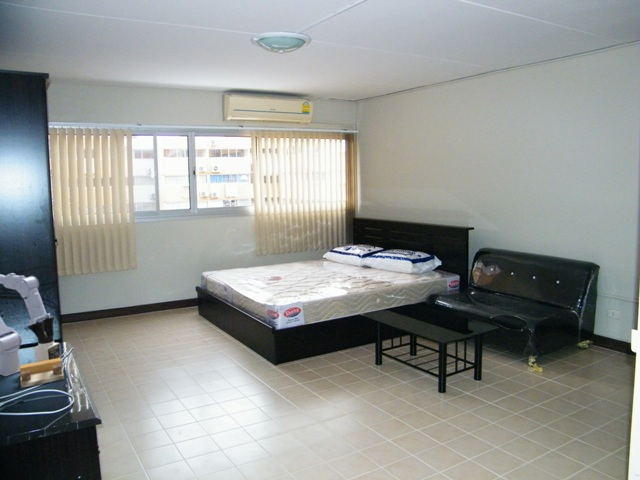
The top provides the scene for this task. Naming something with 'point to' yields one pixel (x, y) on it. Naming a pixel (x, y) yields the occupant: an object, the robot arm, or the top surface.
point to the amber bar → (40, 366)
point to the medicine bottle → (46, 349)
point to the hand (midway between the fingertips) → (47, 338)
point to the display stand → (41, 377)
